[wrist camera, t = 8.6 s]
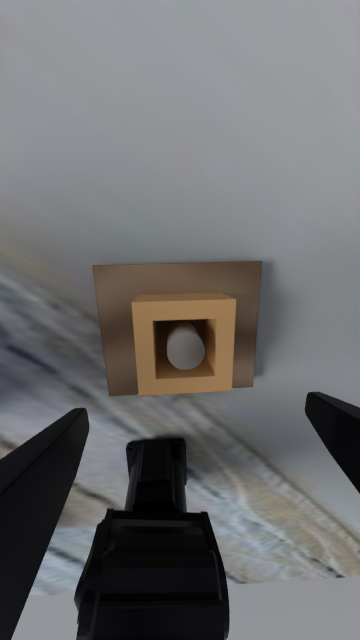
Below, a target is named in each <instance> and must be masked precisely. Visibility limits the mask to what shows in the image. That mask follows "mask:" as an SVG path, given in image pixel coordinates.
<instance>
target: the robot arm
mask: <svg viewBox="0 0 360 640" xmlns="http://www.w3.org/2000/svg"><path fill="white" fill-rule="evenodd" d="M305 413H306V416H307V417H308V419H309V420H310V422H311V424H312V425H313V427H314V429H315V430H316V432H317V433H318V435H319V437H320V438H321V440H322V441H323V443H324V445H325V446H326V448H327V449H328V451H329V452H330V454H331V455H332V457H333V458H334V459H335V461H336V462H337V464H338V465H339V466H340V468H341V469H342V470H343V472H344V473H345V474H346V476H347V477H348V478H349V480H350V481H351V482H352V484H353V485H354V487H355V488H356V489H357V491H358V492H359V493H360V408H359V407H357V406H354V405H352V404H349V403H347V402H344V401H342V400H339V399H336V398H334V397H331V396H329V395H326V394H324V393H321V392H309V393H308V394H307V398H306V404H305ZM88 433H89V420H88V414H87V410H86V408H75V409H73V410H71V411H70V412H68V413H67V414H65V415H64V416H63V417H61V418H60V419H58V420H57V421H55V422H54V423H52V424H51V425H50V426H48V427H47V428H45V429H44V430H42V431H41V432H39V433H38V434H37V435H35V436H34V437H32V438H31V439H29V440H28V441H26V442H25V443H24V444H22V445H21V446H19V447H18V448H16V449H15V450H13V451H12V452H11V453H9V454H8V455H6V456H5V457H3V458H2V459H0V640H11V638H12V636H13V633H14V631H15V628H16V626H17V623H18V621H19V618H20V616H21V613H22V611H23V608H24V605H25V603H26V600H27V598H28V595H29V593H30V590H31V588H32V585H33V583H34V580H35V578H36V575H37V573H38V570H39V568H40V565H41V563H42V560H43V558H44V555H45V553H46V550H47V547H48V545H49V542H50V540H51V537H52V535H53V532H54V530H55V527H56V525H57V522H58V520H59V517H60V515H61V512H62V510H63V507H64V505H65V502H66V500H67V497H68V495H69V492H70V489H71V487H72V484H73V482H74V479H75V476H76V474H77V470H78V467H79V464H80V460H81V457H82V453H83V450H84V447H85V443H86V440H87V436H88ZM180 443H182V444H180ZM130 447H132V448H130ZM126 454H127V463H128V472H129V486H128V492H127V498H126V504H125V510H114V509H111V508H108V509H107V512H106V516H105V519H102V522H101V523H99V524H98V525H97V528H96V532H95V536H94V540H93V543H92V547H91V550H90V553H89V556H88V559H87V561H86V564H85V567H84V569H83V572H82V574H81V577H80V580H79V582H78V585H77V588H76V592H75V597H74V601H75V604H76V607H77V610H78V612H79V613H78V620H77V624H79V625H78V631H77V638H76V640H226V639H227V637H228V633H229V598H228V588H227V581H226V575H225V570H224V566H223V562H222V558H221V555H220V552H219V549H218V545H217V542H216V539H215V536H214V532H213V529H212V526H211V523H210V519H209V516H208V513H207V512H202V511H201V513H191V512H187V506H186V496H185V485H186V483H187V478H186V443H185V440H184V439H183V438H177V439H164V440H152V441H140V442H130V443H128V444H127V446H126Z"/></svg>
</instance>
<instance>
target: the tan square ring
mask: <svg viewBox="0 0 360 640" xmlns="http://www.w3.org/2000/svg"><path fill="white" fill-rule="evenodd" d="M131 303H132V315H133V328H134V341H135V354H136V367H137V379H138V392H139V396H150V395H167V394H183V393H200V392H217V391H232V374H233V354H234V334H235V314H236V299H235V298H232V297H230V296H227V295H225V294H223V293H186V294H149V295H138V296H137V297H136V298H135V299H134V300H133V301H132V302H131ZM190 319H205V355H204V358H203V360H202V362H201V363H200V364H199V365H198V366H196V367H195V368H192V369H189V370H182V369H178V368H176V367H175V366H173V365H172V364H171V363H170V361H169V359H168V356H157V335H156V321H162V320H190Z"/></svg>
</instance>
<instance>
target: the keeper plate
mask: <svg viewBox="0 0 360 640" xmlns="http://www.w3.org/2000/svg"><path fill="white" fill-rule="evenodd" d="M261 263H262V261H248V262H209V263H170V264H130V265H92V266H93V274H94V282H95V289H96V297H97V305H98V313H99V321H100V328H101V336H102V344H103V352H104V360H105V367H106V375H107V383H108V391H109V396H121V395H136V394H139V392H138V379H137V367H136V354H135V341H134V328H133V315H132V303H131V302H132V301H133V300H134V299H135V298H136V297H137V296H138V295H149V294H186V293H223V294H225V295H227V296H230V297H232V298H235V299H236V314H235V334H234V354H233V374H232V388H242V387H253V377H254V363H255V348H256V334H257V320H258V306H259V291H260V277H261ZM156 335H157V356H168V359H169V361H170V363H171V364H172V365H173V366H175V367H176V368H178V369H182V370H189V369H192V368H195V367H196V366H198V365H199V364H200V363H201V362H202V360H203V358H204V355H205V319H190V320H162V321H156Z"/></svg>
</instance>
